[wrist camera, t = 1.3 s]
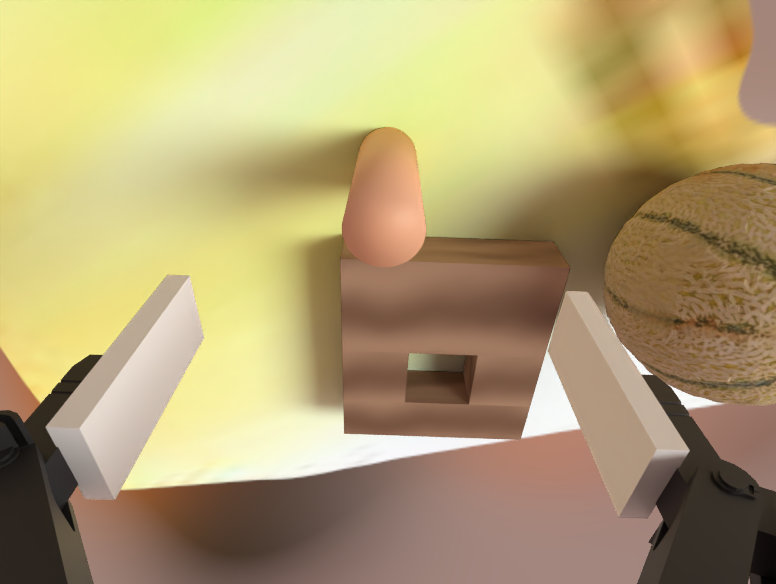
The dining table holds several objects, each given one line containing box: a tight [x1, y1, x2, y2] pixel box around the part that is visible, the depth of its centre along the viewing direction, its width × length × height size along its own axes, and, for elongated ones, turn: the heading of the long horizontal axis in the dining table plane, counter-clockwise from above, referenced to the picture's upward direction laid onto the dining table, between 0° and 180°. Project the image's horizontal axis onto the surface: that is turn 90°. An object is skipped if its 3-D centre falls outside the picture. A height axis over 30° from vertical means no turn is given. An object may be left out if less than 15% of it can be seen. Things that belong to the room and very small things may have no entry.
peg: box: [342, 127, 426, 267], centre depth 27 cm, size 4×4×12 cm
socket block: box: [340, 237, 570, 440], centre depth 38 cm, size 18×16×4 cm
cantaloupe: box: [603, 163, 776, 405], centre depth 28 cm, size 15×15×15 cm
